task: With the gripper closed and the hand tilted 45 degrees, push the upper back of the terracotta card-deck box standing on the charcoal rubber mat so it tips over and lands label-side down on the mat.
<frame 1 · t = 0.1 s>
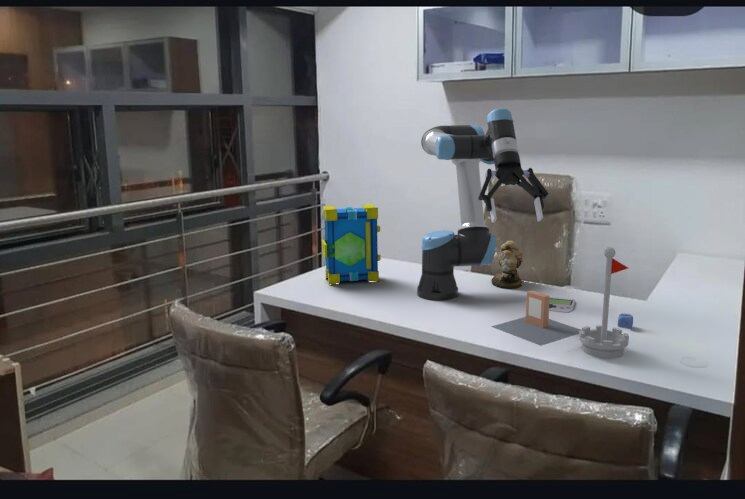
hand: (517, 220, 179), 36 cm above the table, tool tilted 35°, fingers open, 13 cm apart
decorative book: (352, 281, 252), on the table
mat: (537, 330, 193), on the table
decorative dice: (624, 328, 195), on the table
handheld gaming console: (558, 308, 216), on the table
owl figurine: (506, 283, 246), on the table
flag stand: (602, 351, 177), on the table
card deck: (536, 324, 197), point 1 cm above the table, touching mat
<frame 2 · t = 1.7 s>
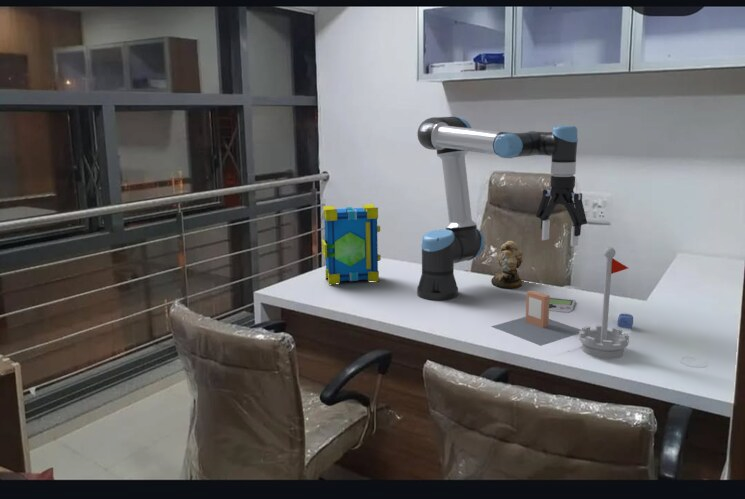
hand: (559, 242, 204), 24 cm above the table, tool pointing down, fingers open, 11 cm apart
nothing on the table moved.
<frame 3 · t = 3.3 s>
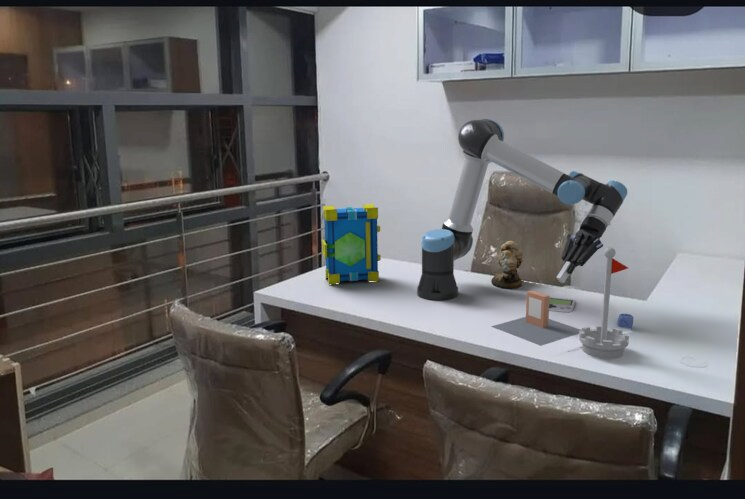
hand: (560, 280, 199), 13 cm above the table, tool tilted 45°, fingers closed
nothing on the table moved.
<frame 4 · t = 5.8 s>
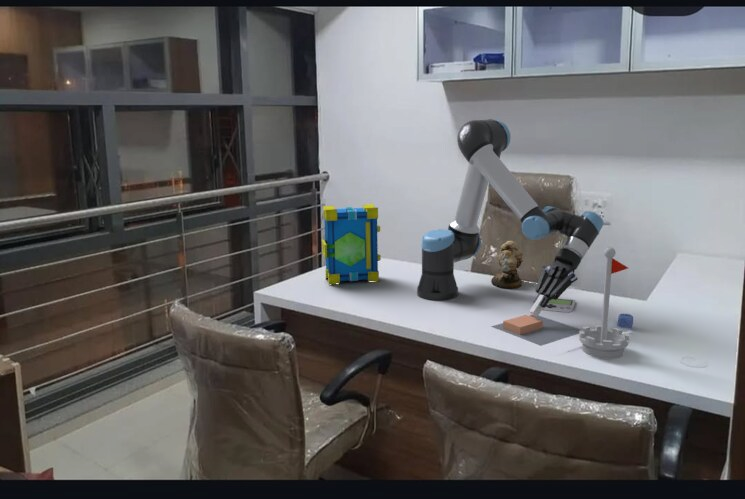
hand: (533, 313, 195), 4 cm above the table, tool tilted 45°, fingers closed
card deck: (534, 321, 196), point 2 cm above the table, tilted 90°, touching mat
everything else where it was.
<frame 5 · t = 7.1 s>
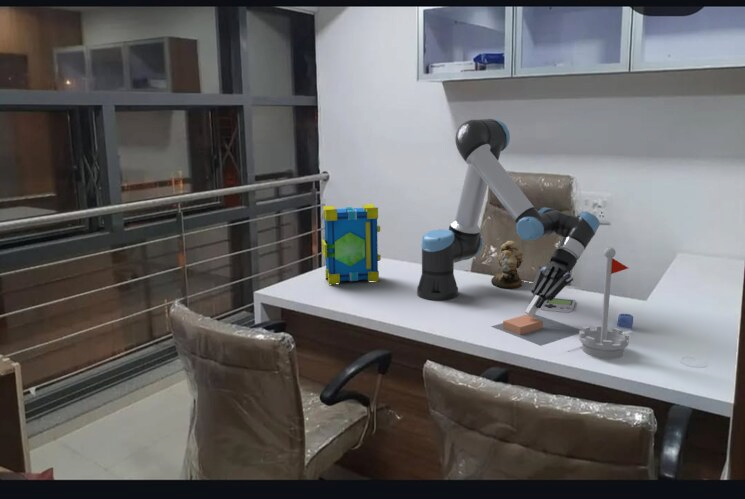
hand: (528, 314, 194), 5 cm above the table, tool tilted 45°, fingers closed
nothing on the table moved.
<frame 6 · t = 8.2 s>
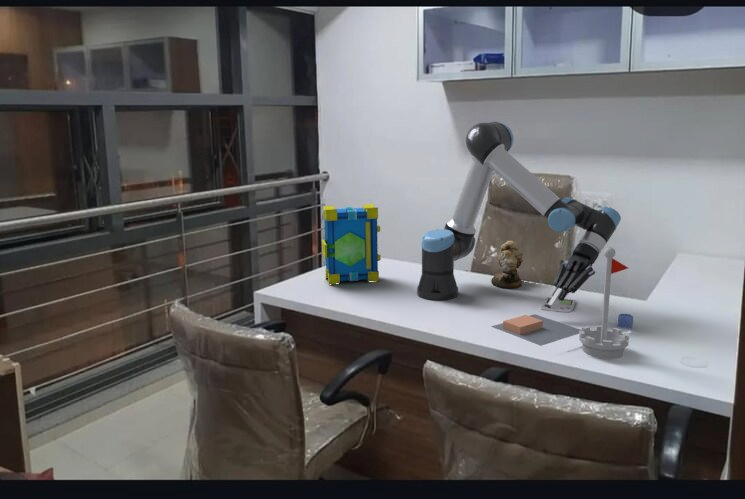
hand: (551, 306, 200), 5 cm above the table, tool tilted 45°, fingers closed
nothing on the table moved.
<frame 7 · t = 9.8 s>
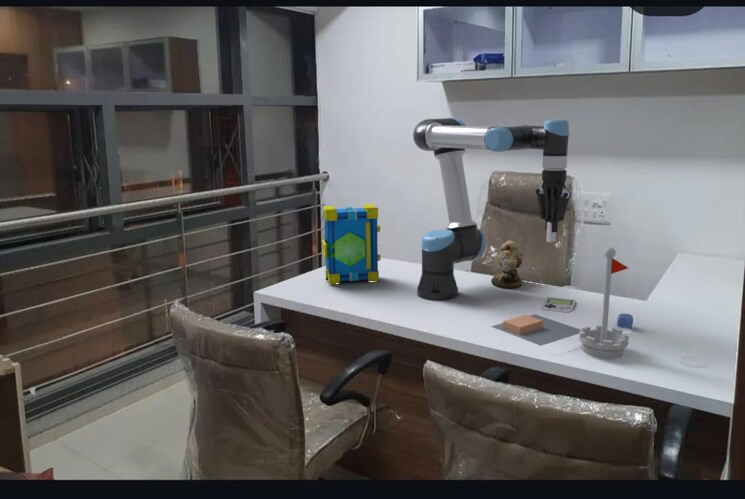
hand: (550, 241, 205), 24 cm above the table, tool pointing down, fingers closed
nothing on the table moved.
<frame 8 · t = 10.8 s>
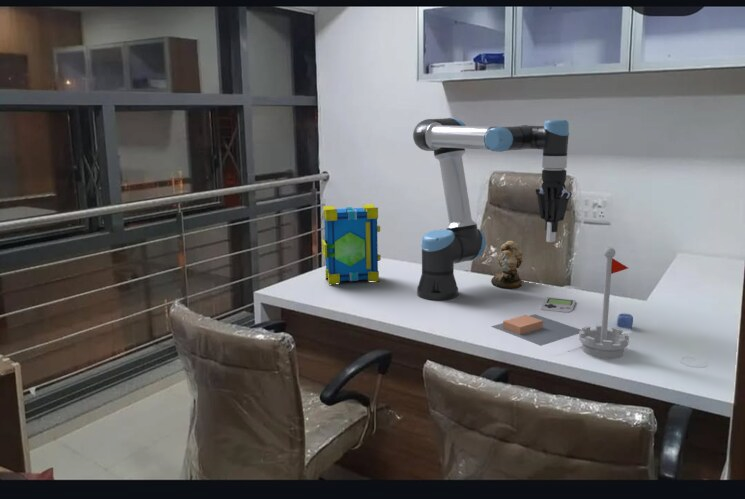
hand: (550, 241, 205), 24 cm above the table, tool pointing down, fingers closed
nothing on the table moved.
at the end: card deck tilted 90°; card deck inside the target area on the mat (3.4 cm from its centre), point 1.8 cm above the mat's base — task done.
